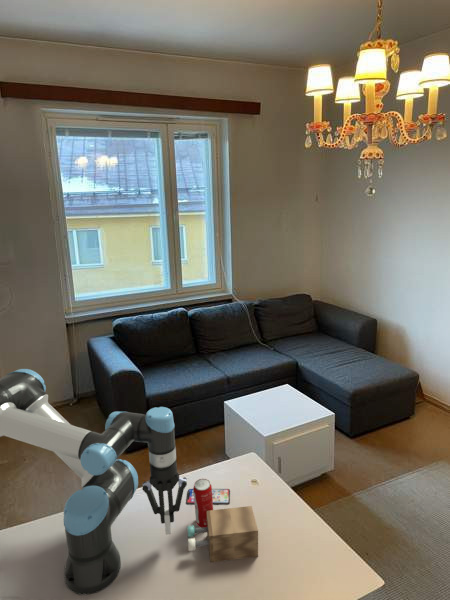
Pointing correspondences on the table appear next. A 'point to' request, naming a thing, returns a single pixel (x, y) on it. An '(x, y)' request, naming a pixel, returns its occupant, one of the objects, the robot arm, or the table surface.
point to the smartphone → (217, 496)
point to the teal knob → (196, 530)
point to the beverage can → (202, 501)
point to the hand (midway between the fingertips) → (168, 530)
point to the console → (232, 534)
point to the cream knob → (196, 543)
